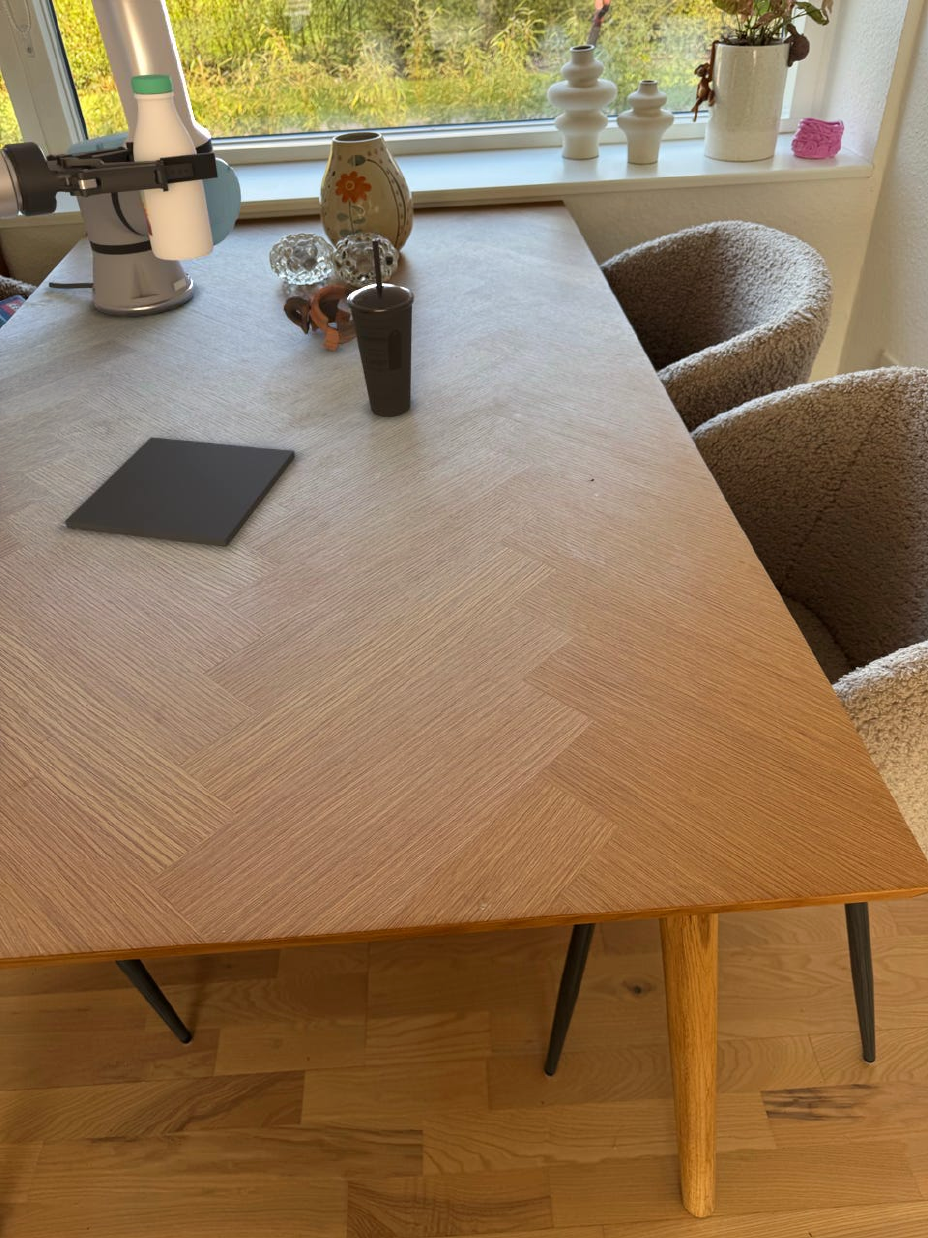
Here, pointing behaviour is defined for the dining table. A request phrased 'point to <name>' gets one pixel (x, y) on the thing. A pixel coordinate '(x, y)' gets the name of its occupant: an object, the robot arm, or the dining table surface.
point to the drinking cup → (384, 341)
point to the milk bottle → (182, 209)
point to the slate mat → (183, 491)
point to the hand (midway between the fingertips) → (201, 159)
